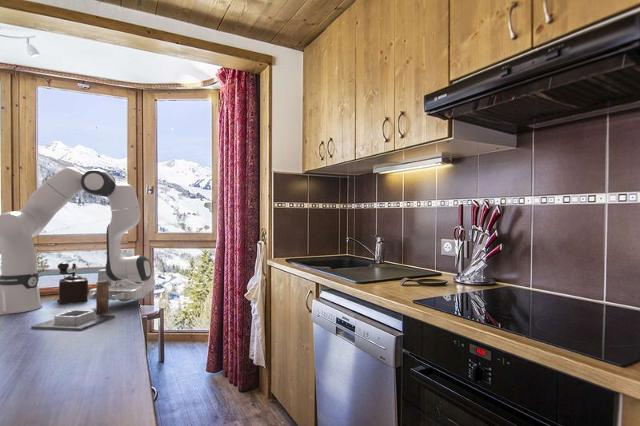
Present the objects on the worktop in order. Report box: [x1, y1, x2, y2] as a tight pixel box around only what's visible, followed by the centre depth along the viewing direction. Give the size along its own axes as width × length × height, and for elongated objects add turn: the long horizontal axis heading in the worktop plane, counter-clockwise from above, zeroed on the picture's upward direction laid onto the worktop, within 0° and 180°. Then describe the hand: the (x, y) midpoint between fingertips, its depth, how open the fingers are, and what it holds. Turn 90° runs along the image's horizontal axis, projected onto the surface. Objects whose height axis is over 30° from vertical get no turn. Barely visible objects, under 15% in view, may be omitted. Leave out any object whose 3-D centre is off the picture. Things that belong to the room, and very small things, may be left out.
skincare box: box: [97, 268, 116, 287], centre depth 171 cm, size 6×4×12 cm
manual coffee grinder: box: [56, 261, 89, 305], centre depth 157 cm, size 16×11×18 cm
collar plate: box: [30, 309, 116, 332], centre depth 126 cm, size 18×16×3 cm
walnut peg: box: [95, 280, 110, 315], centre depth 139 cm, size 4×4×12 cm
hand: (102, 297), depth 139 cm, fingers open, 8 cm apart
